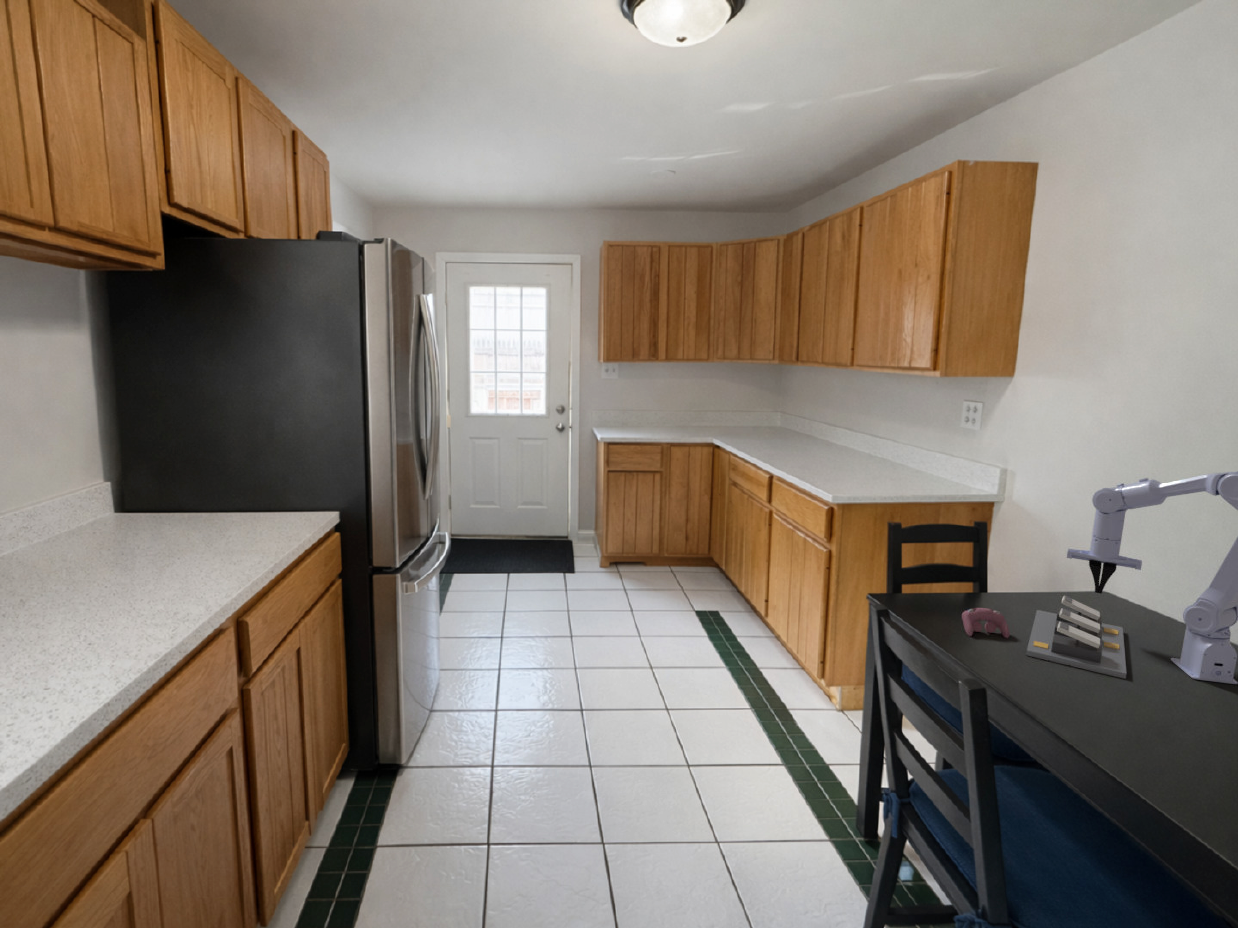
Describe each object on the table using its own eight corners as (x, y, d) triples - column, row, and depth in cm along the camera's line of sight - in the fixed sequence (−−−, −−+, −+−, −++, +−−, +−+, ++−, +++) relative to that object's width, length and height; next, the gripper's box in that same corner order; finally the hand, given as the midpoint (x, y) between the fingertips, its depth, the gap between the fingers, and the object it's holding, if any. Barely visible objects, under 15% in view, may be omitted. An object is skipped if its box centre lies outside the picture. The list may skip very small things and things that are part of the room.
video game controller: (1003, 639, 165) (1000, 609, 167) (1012, 638, 161) (1009, 608, 163) (960, 636, 166) (958, 607, 168) (968, 635, 161) (965, 605, 163)
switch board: (1121, 632, 167) (1124, 613, 166) (1125, 678, 143) (1129, 657, 142) (1036, 614, 177) (1038, 597, 176) (1026, 655, 153) (1028, 635, 152)
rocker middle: (1098, 627, 159) (1100, 623, 158) (1098, 633, 155) (1100, 629, 155) (1059, 611, 163) (1061, 607, 162) (1059, 617, 159) (1061, 612, 159)
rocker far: (1097, 615, 167) (1100, 611, 166) (1097, 620, 164) (1100, 616, 163) (1062, 598, 171) (1064, 594, 170) (1061, 603, 167) (1063, 599, 167)
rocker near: (1098, 642, 151) (1100, 637, 150) (1098, 648, 147) (1100, 644, 147) (1057, 625, 155) (1059, 620, 154) (1056, 630, 151) (1059, 626, 151)
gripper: (1143, 539, 161) (1135, 593, 164) (1070, 528, 169) (1063, 581, 172) (1145, 545, 156) (1136, 602, 158) (1069, 534, 164) (1062, 588, 166)
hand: (1098, 591), depth 164 cm, fingers closed
